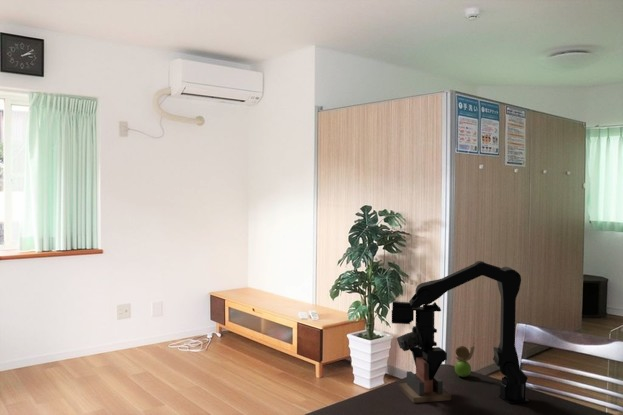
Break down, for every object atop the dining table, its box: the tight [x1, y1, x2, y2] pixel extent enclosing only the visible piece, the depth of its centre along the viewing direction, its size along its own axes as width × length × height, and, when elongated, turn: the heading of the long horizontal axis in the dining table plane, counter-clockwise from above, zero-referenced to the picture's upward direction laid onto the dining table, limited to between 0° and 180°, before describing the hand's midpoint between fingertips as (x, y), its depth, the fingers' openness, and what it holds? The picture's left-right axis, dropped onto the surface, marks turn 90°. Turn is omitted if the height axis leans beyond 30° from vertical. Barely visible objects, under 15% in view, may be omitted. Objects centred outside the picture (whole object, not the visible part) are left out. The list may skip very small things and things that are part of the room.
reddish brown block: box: [415, 357, 433, 393], centre depth 161 cm, size 3×6×9 cm, turn 13°
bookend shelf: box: [398, 371, 452, 404], centre depth 161 cm, size 12×12×6 cm
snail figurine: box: [454, 341, 476, 378], centre depth 176 cm, size 5×6×12 cm
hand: (424, 374), depth 161 cm, fingers open, 9 cm apart
